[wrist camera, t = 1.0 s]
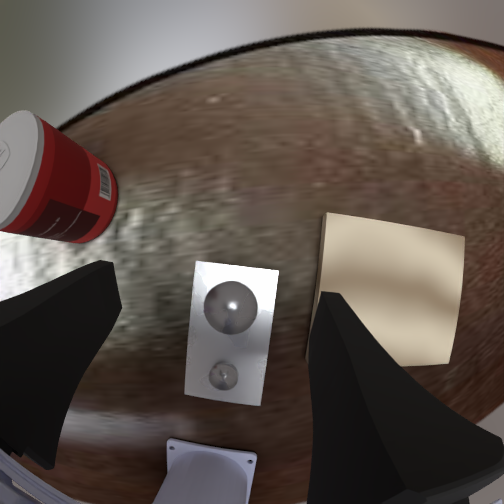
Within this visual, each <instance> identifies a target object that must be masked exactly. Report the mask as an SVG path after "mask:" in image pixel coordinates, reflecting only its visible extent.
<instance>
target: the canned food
mask: <svg viewBox="0 0 504 504" xmlns="http://www.w3.org/2000/svg"><path fill="white" fill-rule="evenodd" d="M117 199H118V191H117V184H116V180H115V178H114V176H113V174H112V172H111V170H110V169H109V167H108V166H107V165H106V164H105V163H104V162H102V161H101V160H100V159H98V158H97V157H95V156H94V155H92V154H91V153H90V152H88V151H87V150H85V149H84V148H82V147H81V146H80V145H78V144H77V143H75V142H74V141H72V140H71V139H70V138H68V137H67V136H65V135H64V134H63V133H61V132H60V131H58V130H57V129H56V128H54V127H53V126H51V125H50V124H48V123H47V122H46V121H44V120H42V119H41V118H39V117H38V116H36V115H35V114H32V113H31V112H29V111H25V110H23V111H18V112H15V113H13V114H12V115H10V116H9V117H7V118H6V119H5V120H4V121H3V122H2V123H1V124H0V231H3V232H7V233H13V234H20V235H26V236H32V237H38V238H45V239H51V240H58V241H64V242H71V243H83V242H87V241H90V240H92V239H94V238H96V237H98V236H99V235H100V234H101V233H102V232H103V231H104V230H105V229H106V228H107V227H108V225H109V223H110V222H111V220H112V218H113V216H114V213H115V210H116V206H117Z"/></svg>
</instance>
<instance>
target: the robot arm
mask: <svg viewBox="0 0 504 504" xmlns="http://www.w3.org/2000/svg"><path fill="white" fill-rule="evenodd" d="M121 309H122V305H121V300H120V296H119V291H118V286H117V281H116V276H115V271H114V265H113V262H108V261H102V260H99V261H96V262H93V263H90V264H87V265H85V266H82V267H80V268H78V269H76V270H73V271H71V272H69V273H67V274H65V275H63V276H60V277H58V278H56V279H54V280H52V281H50V282H47V283H45V284H43V285H41V286H38V287H36V288H34V289H32V290H30V291H27V292H25V293H22V294H20V295H17V296H15V297H12V298H9V299H6V300H4V301H1V302H0V504H42V503H41V502H39V501H38V500H36V499H34V498H33V497H31V496H29V495H28V494H26V493H25V492H23V491H21V490H20V489H18V488H17V487H15V486H14V485H13V484H12V480H13V481H15V482H16V483H17V484H18V485H20V486H21V487H22V488H24V489H25V490H26V491H28V492H29V493H30V494H32V495H33V496H35V497H36V498H37V499H39V500H40V501H42V502H43V503H45V504H81V503H79V502H77V501H75V500H73V499H72V498H70V497H68V496H66V495H65V494H63V493H61V492H60V491H58V490H56V489H55V488H53V487H52V486H50V485H48V484H47V483H45V482H44V481H42V480H41V479H39V478H38V477H36V476H35V475H34V474H32V473H31V472H29V471H28V470H27V469H25V468H24V467H23V466H21V465H20V464H19V463H17V462H16V461H15V460H14V459H12V458H11V457H10V454H11V452H14V453H15V454H16V455H18V456H19V457H22V455H23V454H24V455H25V456H27V457H28V458H29V459H31V460H32V461H34V462H35V463H37V464H38V465H40V466H41V467H43V468H44V469H46V470H50V469H53V468H54V465H55V458H56V452H57V447H58V441H59V437H60V434H61V430H62V426H63V423H64V419H65V417H66V414H67V411H68V408H69V405H70V403H71V400H72V398H73V395H74V393H75V391H76V388H77V386H78V384H79V382H80V380H81V378H82V376H83V374H84V373H85V371H86V369H87V368H88V366H89V365H90V363H91V361H92V360H93V358H94V357H95V355H96V354H97V352H98V350H99V349H100V347H101V346H102V344H103V343H104V341H105V340H106V338H107V337H108V335H109V333H110V332H111V330H112V328H113V326H114V324H115V322H116V320H117V318H118V316H119V314H120V312H121ZM308 367H309V378H310V389H311V400H312V413H313V449H312V463H311V473H310V483H309V491H308V498H307V504H469V498H468V496H470V495H472V494H474V493H475V492H477V491H479V490H480V489H482V488H483V487H485V486H487V485H489V484H490V483H492V482H493V481H495V480H496V479H498V478H499V477H500V476H502V475H503V474H504V445H503V442H502V439H501V438H500V437H498V436H496V435H494V434H492V433H490V432H488V431H486V430H484V429H482V428H481V427H479V426H477V425H475V424H473V423H472V422H470V421H468V420H467V419H465V418H464V417H462V416H461V415H459V414H458V413H456V412H455V411H453V410H452V409H450V408H449V407H447V406H446V405H445V404H443V403H442V402H441V401H439V400H438V399H437V398H436V397H434V396H433V395H432V394H431V393H429V392H428V391H427V390H426V389H424V388H423V387H422V386H421V385H420V384H419V383H418V382H416V381H415V380H414V379H413V378H412V377H411V376H410V375H409V374H408V373H407V372H406V371H405V370H404V369H403V368H402V367H401V366H400V365H399V364H398V363H397V362H396V361H395V360H394V359H393V358H392V357H391V356H390V355H389V354H388V352H387V351H386V350H385V349H384V348H383V347H382V346H381V345H380V343H379V342H378V341H377V340H376V339H375V338H374V336H373V335H372V334H371V333H370V331H369V330H368V329H367V328H366V326H365V325H364V324H363V323H362V321H361V320H360V319H359V317H358V316H357V315H356V313H355V312H354V311H353V310H352V308H351V307H350V306H349V304H348V303H347V302H346V300H345V299H344V298H343V296H342V295H341V294H340V293H336V292H326V291H321V294H320V298H319V302H318V306H317V310H316V314H315V317H314V321H313V325H312V328H311V332H310V336H309V352H308ZM171 446H173V447H174V448H172V447H171ZM248 460H252V461H248ZM256 460H257V455H256V453H254V452H247V451H239V450H231V449H224V448H218V447H212V446H206V445H201V444H196V443H191V442H186V441H182V440H178V439H173V438H170V439H168V441H167V470H168V474H167V476H166V478H165V480H164V482H163V484H162V486H161V488H160V490H159V492H158V494H157V496H156V498H155V500H154V502H153V504H248V500H249V495H250V490H251V485H252V480H253V475H254V470H255V465H256ZM490 504H502V499H498V500H496V501H494V502H492V503H490Z"/></svg>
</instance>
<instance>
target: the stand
mask: <svg viewBox="0 0 504 504" xmlns="http://www.w3.org/2000/svg"><path fill="white" fill-rule="evenodd" d="M464 242H465V237H463V236H459V235H454V234H449V233H444V232H439V231H434V230H429V229H424V228H419V227H413V226H408V225H402V224H397V223H391V222H385V221H379V220H373V219H367V218H361V217H354V216H348V215H341V214H334V213H326V214H325V215H324V216H323V220H322V232H321V242H320V253H319V262H318V271H317V280H316V288H315V296H314V304H313V311H312V318H311V325H310V332H311V328H312V325H313V321H314V317H315V314H316V310H317V306H318V302H319V298H320V294H321V291H326V292H336V293H340V294H341V295H342V296H343V298H344V299H345V300H346V302H347V303H348V304H349V306H350V307H351V308H352V310H353V311H354V312H355V313H356V315H357V316H358V317H359V319H360V320H361V321H362V323H363V324H364V325H365V326H366V328H367V329H368V330H369V331H370V333H371V334H372V335H373V336H374V338H375V339H376V340H377V341H378V342H379V343H380V345H381V346H382V347H383V348H384V349H385V350H386V351H387V352H388V354H389V355H390V356H391V357H392V358H393V359H394V360H395V361H396V362H397V363H398V364H399V365H400V366H418V365H434V364H447V363H449V359H450V355H451V350H452V346H453V341H454V336H455V331H456V325H457V319H458V312H459V305H460V298H461V289H462V279H463V265H464ZM310 332H309V336H310ZM308 352H309V338H308V345H307V351H306V357H305V359H306V361H307V363H308Z"/></svg>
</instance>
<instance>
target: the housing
mask: <svg viewBox="0 0 504 504" xmlns="http://www.w3.org/2000/svg"><path fill="white" fill-rule="evenodd" d="M277 279H278V271H276V270H267V269H258V268H250V267H242V266H233V265H225V264H217V263H209V262H201V261H196V266H195V275H194V284H193V293H192V302H191V313H190V323H189V335H188V347H187V361H186V376H185V394H186V395H191V396H196V397H201V398H207V399H213V400H219V401H225V402H232V403H240V404H247V405H256V406H260V403H261V397H262V390H263V383H264V377H265V370H266V363H267V356H268V349H269V342H270V334H271V327H272V319H273V311H274V304H275V296H276V287H277Z"/></svg>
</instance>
